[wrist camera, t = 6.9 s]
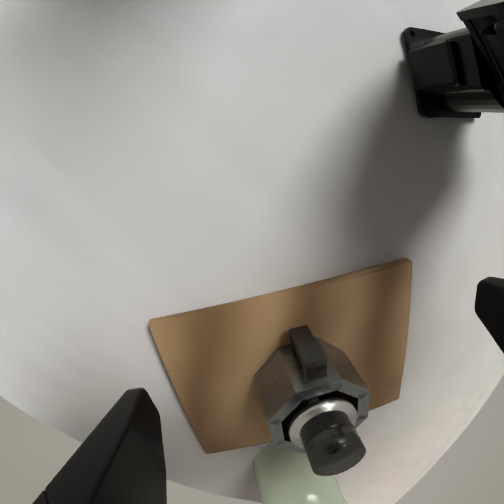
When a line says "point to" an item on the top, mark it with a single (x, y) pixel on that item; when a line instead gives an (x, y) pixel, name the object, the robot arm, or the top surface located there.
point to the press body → (306, 382)
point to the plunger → (327, 435)
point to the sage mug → (292, 479)
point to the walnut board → (277, 334)
